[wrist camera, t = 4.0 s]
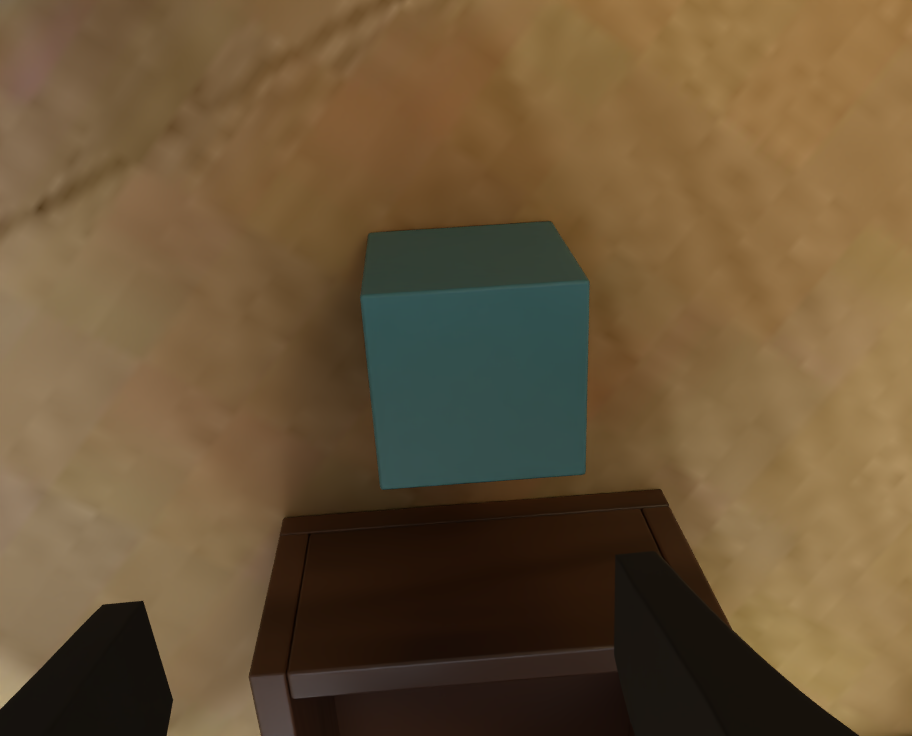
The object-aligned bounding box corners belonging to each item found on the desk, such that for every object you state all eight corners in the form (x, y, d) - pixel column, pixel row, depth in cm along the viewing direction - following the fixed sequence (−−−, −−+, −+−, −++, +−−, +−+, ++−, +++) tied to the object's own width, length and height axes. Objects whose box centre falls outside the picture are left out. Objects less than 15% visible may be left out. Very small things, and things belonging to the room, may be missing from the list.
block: (552, 219, 20) (590, 280, 16) (552, 384, 21) (586, 476, 18) (367, 232, 19) (359, 295, 15) (384, 396, 21) (379, 491, 17)
